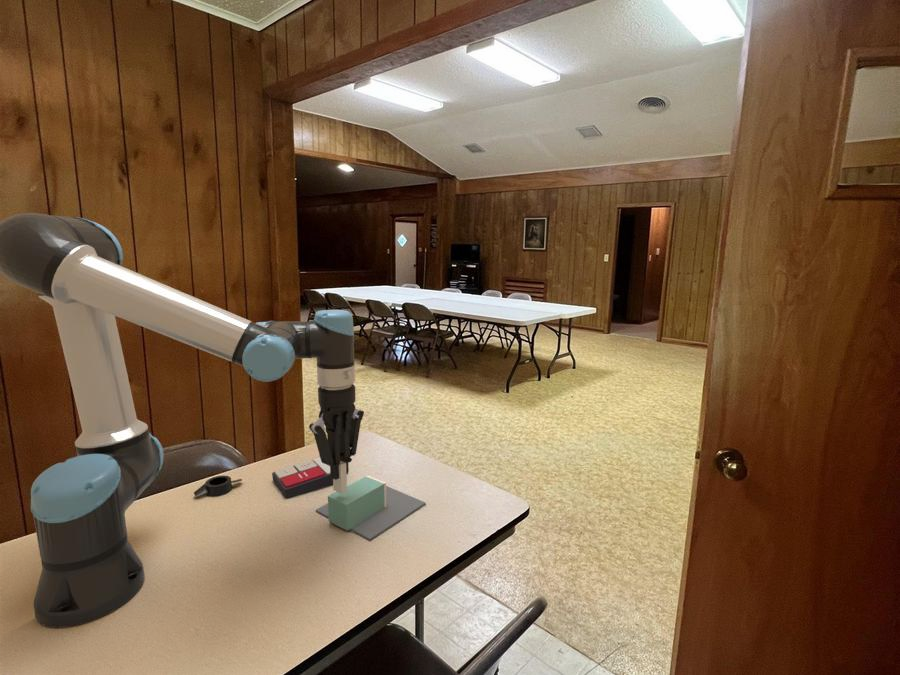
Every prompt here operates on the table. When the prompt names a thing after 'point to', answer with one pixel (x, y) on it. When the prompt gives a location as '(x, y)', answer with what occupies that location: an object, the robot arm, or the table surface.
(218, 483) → the black ring with arms
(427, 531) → the table surface
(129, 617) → the table surface
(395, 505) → the mat
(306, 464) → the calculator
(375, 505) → the block
